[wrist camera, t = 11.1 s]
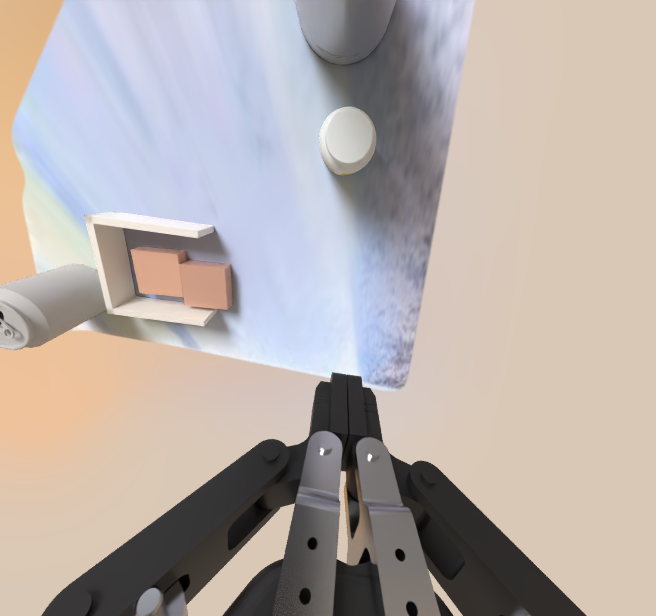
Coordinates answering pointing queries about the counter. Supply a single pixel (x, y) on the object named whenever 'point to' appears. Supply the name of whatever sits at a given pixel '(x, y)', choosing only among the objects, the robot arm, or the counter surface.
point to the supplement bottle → (347, 140)
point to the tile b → (206, 284)
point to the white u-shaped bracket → (117, 269)
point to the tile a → (158, 270)
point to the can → (48, 305)
